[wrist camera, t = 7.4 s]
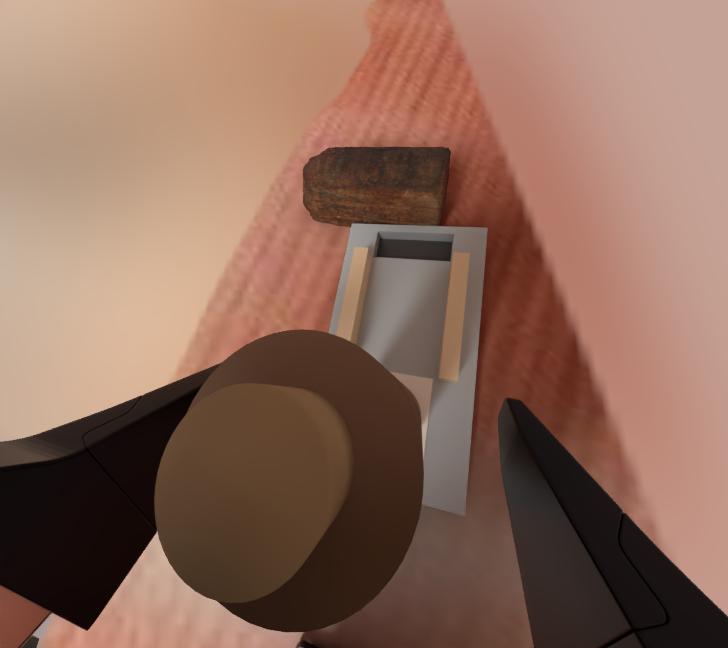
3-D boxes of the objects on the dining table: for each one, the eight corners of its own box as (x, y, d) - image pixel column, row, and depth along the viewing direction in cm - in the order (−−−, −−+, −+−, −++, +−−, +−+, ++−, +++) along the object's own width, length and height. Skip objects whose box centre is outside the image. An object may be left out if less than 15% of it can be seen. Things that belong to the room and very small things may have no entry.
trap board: (461, 508, 16) (470, 530, 13) (306, 465, 18) (286, 477, 15) (483, 237, 20) (493, 212, 17) (355, 232, 22) (346, 209, 19)
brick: (446, 195, 22) (453, 142, 17) (438, 237, 21) (442, 193, 16) (327, 188, 24) (306, 142, 20) (315, 226, 23) (290, 186, 19)
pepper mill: (416, 459, 15) (390, 856, 2) (347, 442, 16) (27, 634, 3) (425, 386, 16) (446, 327, 3) (360, 375, 17) (159, 293, 4)
